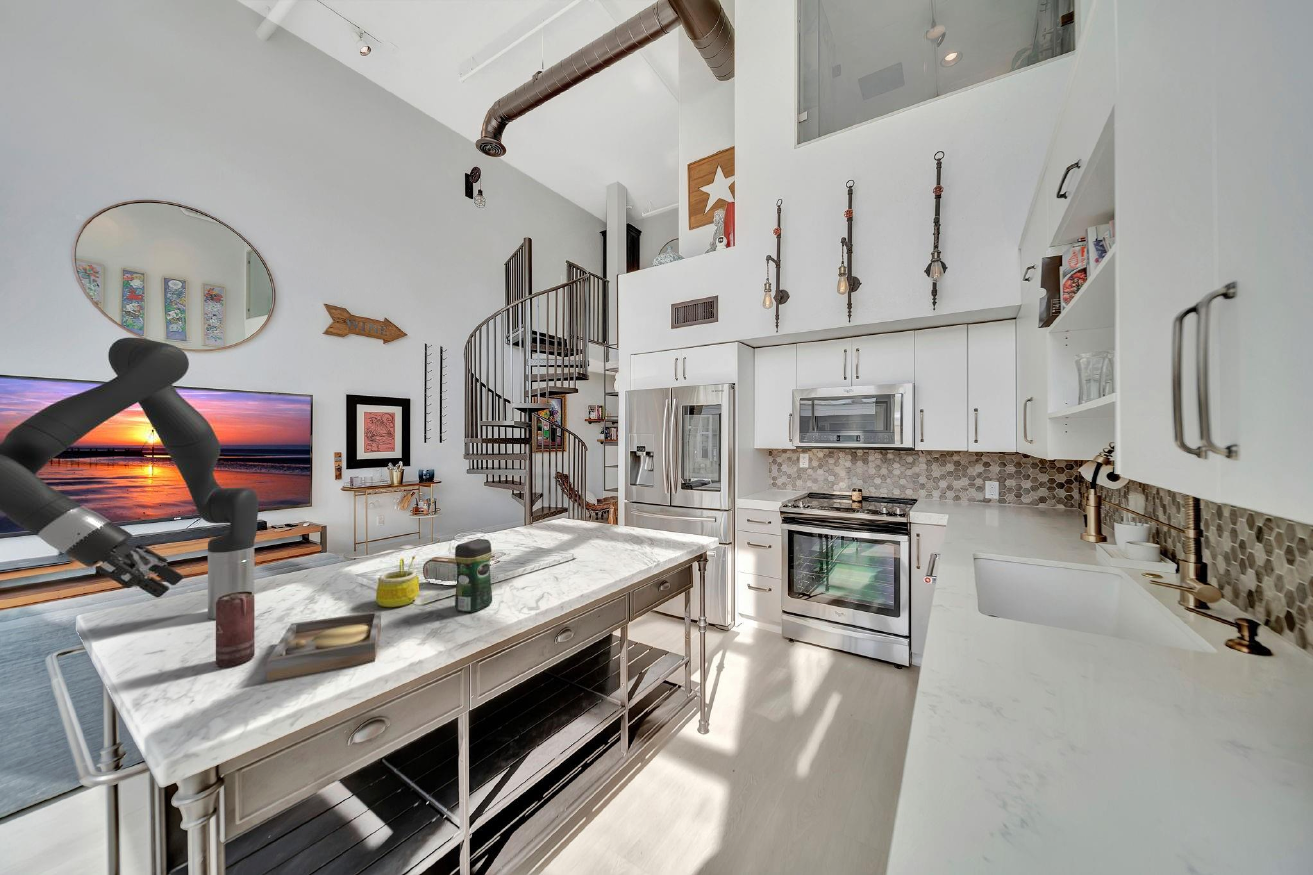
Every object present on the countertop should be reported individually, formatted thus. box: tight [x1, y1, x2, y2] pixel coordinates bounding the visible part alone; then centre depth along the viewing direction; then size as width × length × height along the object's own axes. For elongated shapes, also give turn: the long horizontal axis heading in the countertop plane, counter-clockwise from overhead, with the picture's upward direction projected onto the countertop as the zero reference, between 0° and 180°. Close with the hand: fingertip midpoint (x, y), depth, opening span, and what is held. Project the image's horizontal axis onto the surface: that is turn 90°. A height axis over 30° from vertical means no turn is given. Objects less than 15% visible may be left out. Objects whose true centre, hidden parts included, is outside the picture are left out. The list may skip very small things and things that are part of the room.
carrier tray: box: [266, 610, 382, 682], centre depth 104 cm, size 20×18×5 cm
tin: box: [422, 556, 457, 582], centre depth 150 cm, size 15×3×8 cm, turn 77°
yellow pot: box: [375, 555, 420, 608], centre depth 135 cm, size 13×11×12 cm
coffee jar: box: [454, 538, 493, 613], centre depth 131 cm, size 10×8×19 cm
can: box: [215, 591, 256, 669], centre depth 99 cm, size 6×6×14 cm
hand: (172, 587), depth 94 cm, fingers open, 8 cm apart
